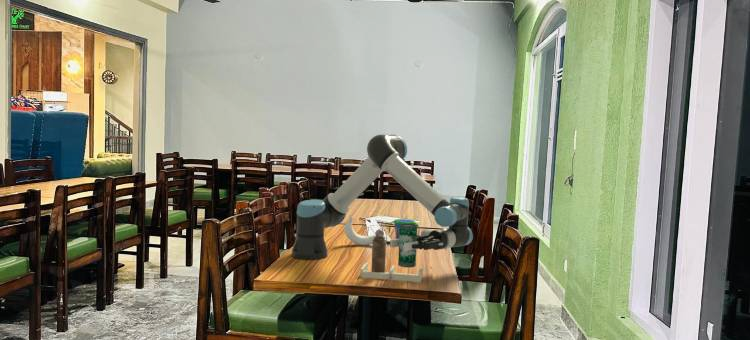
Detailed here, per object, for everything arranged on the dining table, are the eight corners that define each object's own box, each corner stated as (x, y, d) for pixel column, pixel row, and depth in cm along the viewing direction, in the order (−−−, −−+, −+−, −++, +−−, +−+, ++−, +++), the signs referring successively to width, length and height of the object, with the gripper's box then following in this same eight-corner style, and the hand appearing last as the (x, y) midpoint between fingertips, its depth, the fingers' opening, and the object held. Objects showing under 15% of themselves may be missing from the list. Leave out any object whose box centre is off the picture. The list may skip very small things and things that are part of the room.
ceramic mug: (435, 247, 264) (436, 231, 263) (419, 245, 267) (420, 229, 267) (442, 244, 273) (443, 229, 273) (426, 242, 277) (427, 227, 276)
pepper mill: (370, 276, 202) (372, 230, 201) (372, 272, 207) (374, 227, 206) (383, 277, 201) (385, 231, 200) (385, 273, 206) (387, 228, 205)
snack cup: (420, 240, 281) (421, 220, 281) (416, 243, 271) (417, 223, 271) (391, 237, 286) (392, 217, 285) (386, 240, 276) (386, 220, 275)
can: (396, 266, 200) (398, 225, 200) (401, 262, 206) (403, 223, 205) (412, 268, 198) (414, 226, 197) (417, 264, 204) (418, 224, 203)
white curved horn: (383, 247, 260) (385, 216, 260) (343, 245, 260) (344, 214, 259) (383, 245, 265) (384, 214, 264) (343, 243, 264) (344, 213, 264)
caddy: (360, 279, 200) (360, 268, 200) (364, 273, 210) (365, 262, 210) (420, 284, 197) (421, 273, 197) (422, 277, 207) (423, 267, 206)
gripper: (459, 253, 206) (416, 260, 191) (422, 244, 221) (379, 250, 206) (460, 233, 206) (417, 239, 191) (423, 225, 221) (380, 230, 206)
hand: (397, 245), depth 198 cm, fingers closed on can, 6 cm apart
